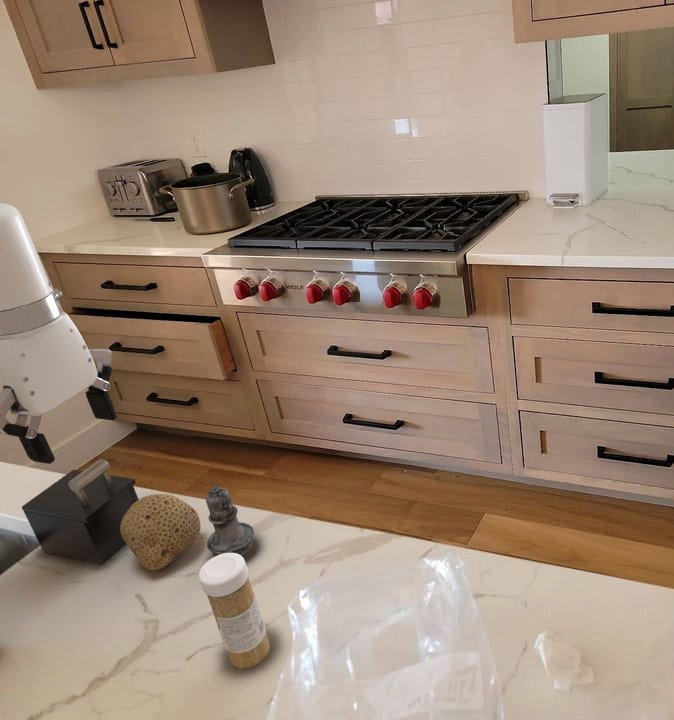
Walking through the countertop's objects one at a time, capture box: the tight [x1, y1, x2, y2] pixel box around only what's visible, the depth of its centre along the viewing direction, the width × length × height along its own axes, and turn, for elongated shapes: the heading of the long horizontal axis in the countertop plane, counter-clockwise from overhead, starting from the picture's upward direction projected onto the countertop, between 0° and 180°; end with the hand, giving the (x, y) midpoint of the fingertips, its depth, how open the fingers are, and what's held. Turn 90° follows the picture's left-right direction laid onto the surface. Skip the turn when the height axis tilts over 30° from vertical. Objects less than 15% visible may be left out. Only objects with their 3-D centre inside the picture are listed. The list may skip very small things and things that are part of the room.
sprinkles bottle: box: [198, 553, 271, 669], centre depth 72 cm, size 5×5×14 cm
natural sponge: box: [120, 493, 201, 571], centre depth 88 cm, size 9×9×10 cm
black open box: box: [23, 485, 140, 566], centre depth 93 cm, size 10×8×8 cm
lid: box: [21, 458, 137, 523], centre depth 90 cm, size 11×8×5 cm
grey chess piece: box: [205, 484, 255, 557], centre depth 87 cm, size 6×6×12 cm
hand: (76, 438), depth 86 cm, fingers open, 9 cm apart
